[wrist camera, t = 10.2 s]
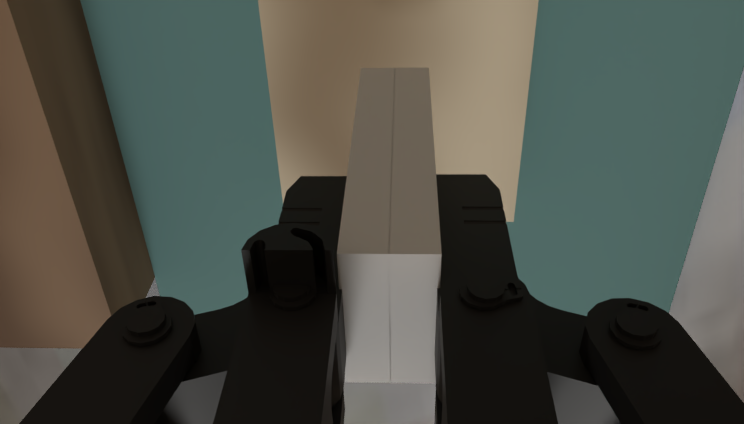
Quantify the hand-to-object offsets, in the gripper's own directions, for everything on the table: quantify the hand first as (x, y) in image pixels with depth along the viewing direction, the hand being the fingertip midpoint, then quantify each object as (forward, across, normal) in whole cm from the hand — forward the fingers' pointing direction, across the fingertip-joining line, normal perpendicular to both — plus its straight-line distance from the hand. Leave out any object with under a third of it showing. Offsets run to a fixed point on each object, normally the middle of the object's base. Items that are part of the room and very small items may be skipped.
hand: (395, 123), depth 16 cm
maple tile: (+3, 0, 0) cm, 3 cm away
